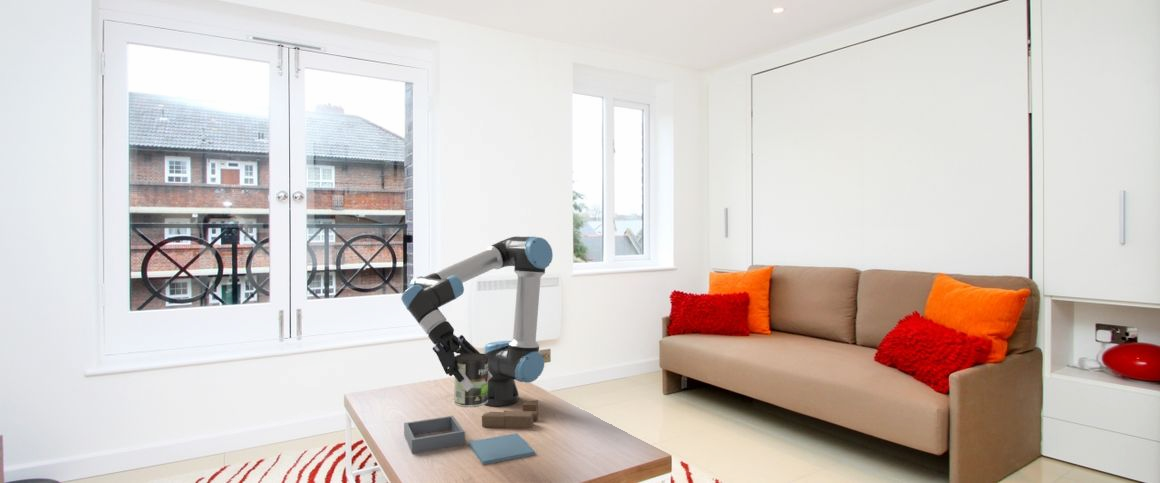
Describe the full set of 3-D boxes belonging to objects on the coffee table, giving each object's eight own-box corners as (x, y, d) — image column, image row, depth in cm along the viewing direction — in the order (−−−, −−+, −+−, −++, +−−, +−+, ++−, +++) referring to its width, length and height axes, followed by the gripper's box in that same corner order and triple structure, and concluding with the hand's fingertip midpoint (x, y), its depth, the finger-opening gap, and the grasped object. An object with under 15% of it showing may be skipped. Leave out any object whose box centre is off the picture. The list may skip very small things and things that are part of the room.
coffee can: (493, 398, 170) (494, 353, 170) (479, 409, 160) (480, 362, 160) (463, 395, 173) (463, 351, 172) (447, 405, 163) (448, 359, 162)
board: (517, 436, 177) (517, 433, 177) (535, 454, 162) (535, 451, 162) (468, 444, 170) (468, 441, 170) (482, 464, 155) (482, 461, 155)
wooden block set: (533, 413, 183) (481, 412, 184) (533, 430, 183) (481, 428, 185) (540, 397, 200) (492, 396, 201) (541, 413, 200) (492, 411, 202)
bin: (453, 427, 185) (453, 415, 184) (464, 444, 170) (464, 431, 170) (404, 435, 178) (404, 422, 177) (411, 453, 163) (411, 440, 163)
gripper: (451, 329, 182) (491, 381, 177) (406, 342, 161) (450, 402, 156) (465, 314, 180) (506, 367, 175) (421, 326, 159) (467, 386, 154)
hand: (480, 383), depth 165 cm, fingers closed on coffee can, 10 cm apart
